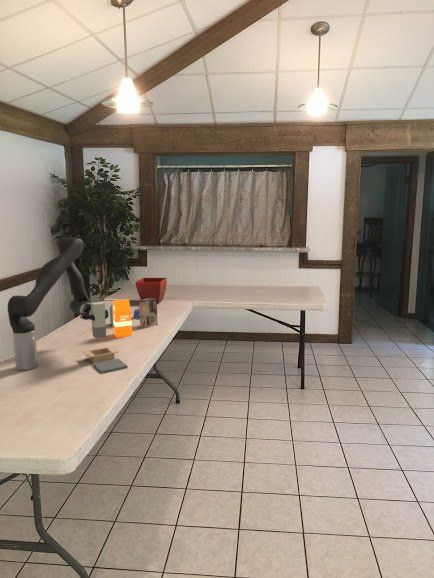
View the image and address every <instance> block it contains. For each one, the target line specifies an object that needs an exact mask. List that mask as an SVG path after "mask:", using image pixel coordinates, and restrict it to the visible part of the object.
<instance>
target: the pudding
mask: <svg viewBox="0 0 434 578" xmlns="http://www.w3.org/2000/svg"><path fill="white" fill-rule="evenodd" d="M133 311H134V312H133V314H131V319H135V320H137V319H138V320H140V312H139V308H136V309H134V310H133Z"/></svg>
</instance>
